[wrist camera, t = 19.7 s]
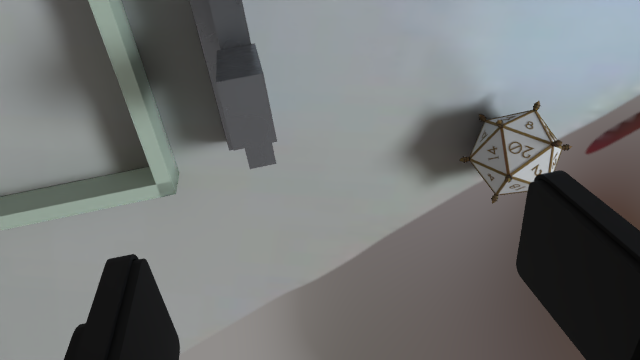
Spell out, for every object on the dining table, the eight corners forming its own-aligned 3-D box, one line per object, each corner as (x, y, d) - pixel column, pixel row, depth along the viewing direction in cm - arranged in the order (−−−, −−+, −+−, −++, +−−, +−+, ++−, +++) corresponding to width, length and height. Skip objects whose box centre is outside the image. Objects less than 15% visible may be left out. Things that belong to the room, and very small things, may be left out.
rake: (228, 140, 39) (232, 226, 28) (182, -38, 32) (161, -17, 21) (271, 131, 40) (291, 212, 29) (234, -46, 33) (242, -30, 22)
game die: (457, 132, 48) (433, 181, 40) (514, 69, 42) (497, 112, 35) (528, 183, 47) (516, 242, 40) (594, 126, 41) (594, 183, 34)
